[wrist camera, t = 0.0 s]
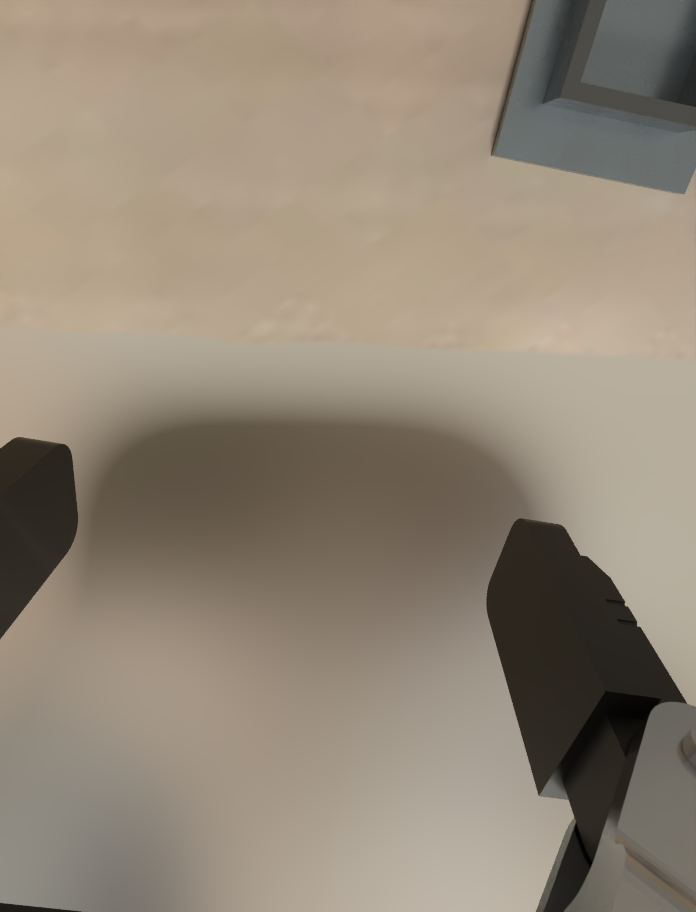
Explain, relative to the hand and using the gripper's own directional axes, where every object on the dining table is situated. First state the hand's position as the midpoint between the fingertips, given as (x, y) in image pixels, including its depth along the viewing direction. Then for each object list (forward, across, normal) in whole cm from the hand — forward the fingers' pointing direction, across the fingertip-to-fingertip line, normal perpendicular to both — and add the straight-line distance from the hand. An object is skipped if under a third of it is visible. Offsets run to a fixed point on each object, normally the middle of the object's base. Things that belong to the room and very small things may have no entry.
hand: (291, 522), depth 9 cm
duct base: (+29, -14, -15) cm, 36 cm away
